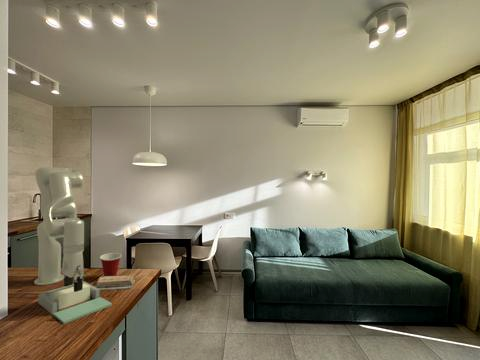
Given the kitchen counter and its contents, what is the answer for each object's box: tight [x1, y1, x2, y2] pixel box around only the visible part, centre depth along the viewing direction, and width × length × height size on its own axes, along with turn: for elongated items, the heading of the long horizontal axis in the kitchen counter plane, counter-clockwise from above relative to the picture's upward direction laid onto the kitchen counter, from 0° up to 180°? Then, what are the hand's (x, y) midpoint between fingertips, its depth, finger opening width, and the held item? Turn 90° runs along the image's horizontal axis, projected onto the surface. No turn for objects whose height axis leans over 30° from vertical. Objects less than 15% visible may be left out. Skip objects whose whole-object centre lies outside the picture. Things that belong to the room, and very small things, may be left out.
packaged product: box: [93, 274, 135, 291], centre depth 129 cm, size 18×5×10 cm
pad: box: [53, 296, 113, 325], centre depth 104 cm, size 10×18×1 cm, turn 145°
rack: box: [37, 280, 101, 315], centre depth 112 cm, size 16×18×4 cm
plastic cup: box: [99, 252, 123, 277], centre depth 140 cm, size 11×11×12 cm
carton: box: [54, 284, 91, 311], centre depth 111 cm, size 5×12×6 cm, turn 144°
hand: (73, 288), depth 110 cm, fingers open, 9 cm apart
